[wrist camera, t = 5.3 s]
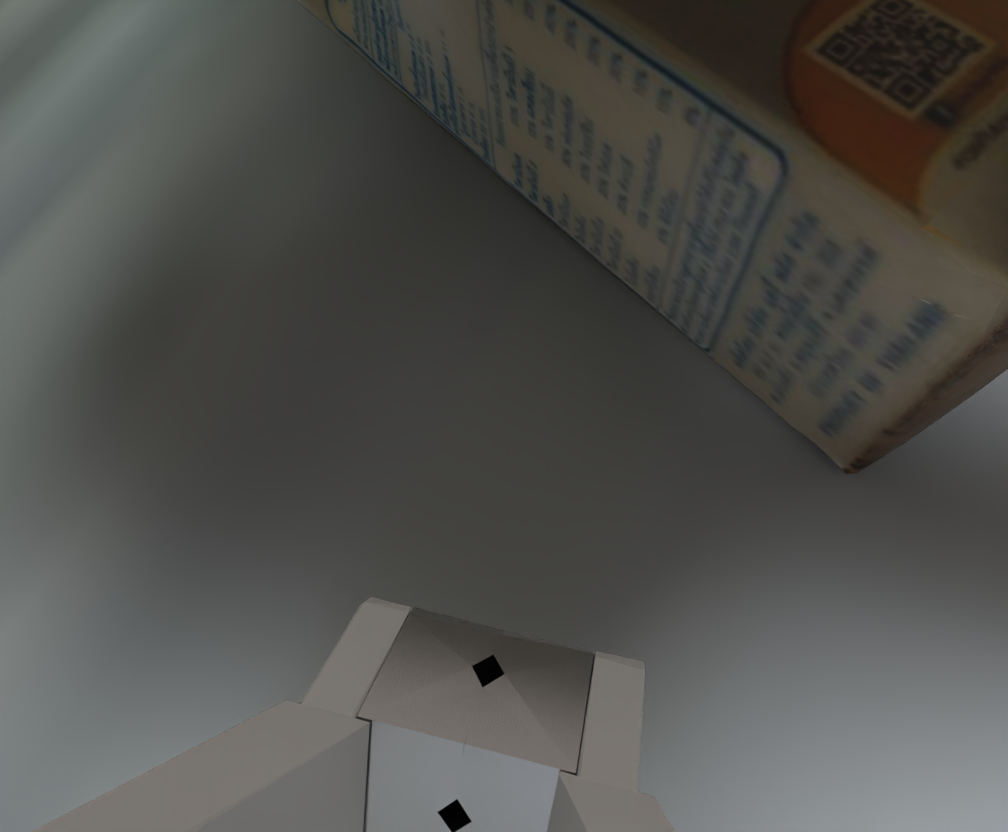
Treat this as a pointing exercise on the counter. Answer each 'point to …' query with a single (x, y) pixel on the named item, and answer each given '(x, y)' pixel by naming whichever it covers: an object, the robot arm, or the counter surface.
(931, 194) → the beverage carton
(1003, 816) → the counter surface
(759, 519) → the counter surface
